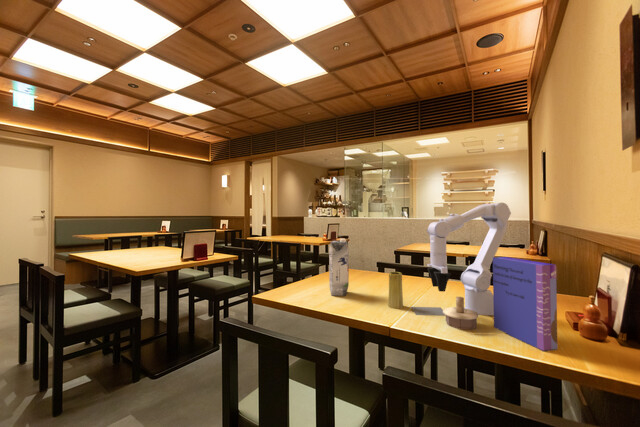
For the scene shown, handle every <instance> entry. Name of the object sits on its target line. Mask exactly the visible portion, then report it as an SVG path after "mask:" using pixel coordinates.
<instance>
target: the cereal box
mask: <svg viewBox="0 0 640 427" xmlns="http://www.w3.org/2000/svg"><path fill="white" fill-rule="evenodd" d="M492 284H493V285H492V287H493V288H492V290H493V292H492V294H493V305H494V316H493V327H494V328H495V329H497V330H499V331H501V332H503V333H504V334H505V335H508V336H510V338H511V337H512V338H514V339H516V340H517V341H520V342H522V343H525V344H527V345H529V346H531V347H534V348H535V349H537V350H539V351H542V352H550V351H551V352H552V351H558V350H559V348H558V304H557V301H558V298H557V294H558V293H557V264H554V263H546V262H542V261H541V262H540V261H534V260H533V261H532V260H528V259H521V258H516V257H509V256H494V257H493V261H492Z"/></svg>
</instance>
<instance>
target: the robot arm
mask: <svg viewBox="0 0 640 427" xmlns="http://www.w3.org/2000/svg"><path fill="white" fill-rule="evenodd" d="M511 214H512V212H511V209H510V208H509V205H508V204H506V203H505V202H497V203H496V202H495V203H483V204H479V205H477V206H475V207H474V208H471V209H470V210H467V211H466V212H464V213H461V214H459V213H450V214H449V216H447V217H445V218H439V219H438V220H439V221H433V222H430V223H429V225H428V227H427V229H426V232H427V234H428V236H429V240H430V241H429V242H430V244H429V247H430V250H429V252H430V254H429V255H430V263H427V264H426V265H427V266H426V267H428V268H427V271H428V273H429V276H430V280H431V284H432V287H437V290H438V291H439V292H443V293H444V292H446V289H447V285H448V282H449V279H450V278H451V276H452V273H450V272H448V264H447V237H448V236H449V234H450V233H452V232H455V231H457V230H459V229H461V228H463V227H464V224H465V223H467V222H471V221H473V220H475V219H477V218H480V217H481V218H482V220H483V221H484V222H485V224H486V225H487V226H488V228H489V230H488V232H487V233H486V236H485V238H484V241H483V243H482V245H481V247H480V249H479V251H478V253H477V255H476V257H475V260H474V262H473V263H472V264H470V265H468V266H467V268H466V269H465V270H464V271H463V272H462V273H461V275H460V281H461V283H462V284H463V287H464V308H465V309H469V310H473V311H475V312H477V313H478V316H492V317H494V305H493V292H492V291H491V290H490V289H489V288H490V287H491V279H492V277H493V273H491V270H489V269H490V267H491V264H493V257H496V255H497V252H498V249H499V247H500V246H501V243H502V241H503V239H504V237H505V234H506V233H507V229H508V221H509V218H510V216H511Z"/></svg>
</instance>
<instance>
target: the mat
mask: <svg viewBox="0 0 640 427" xmlns="http://www.w3.org/2000/svg"><path fill="white" fill-rule="evenodd" d="M410 308H411V310H412V312H413V313H414V314H415V315H416V316H440V317H442V316H445V317H446V315H445V314H444V313H443V309H444V308H442V307H439V306H437V307H436V306H433V307H432V306H410Z"/></svg>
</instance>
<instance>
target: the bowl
mask: <svg viewBox="0 0 640 427" xmlns="http://www.w3.org/2000/svg"><path fill="white" fill-rule="evenodd" d="M477 319H478V318H476V319H470V320H466V319H457V318H452V317H449V316H447V315H446V316H445V321H446V324H447V326H449V327H451V328H454V329H458V330H465V331H470V330H475V329H476V327H477V326H478V320H477Z"/></svg>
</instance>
